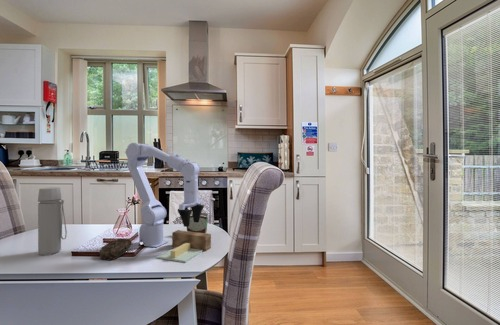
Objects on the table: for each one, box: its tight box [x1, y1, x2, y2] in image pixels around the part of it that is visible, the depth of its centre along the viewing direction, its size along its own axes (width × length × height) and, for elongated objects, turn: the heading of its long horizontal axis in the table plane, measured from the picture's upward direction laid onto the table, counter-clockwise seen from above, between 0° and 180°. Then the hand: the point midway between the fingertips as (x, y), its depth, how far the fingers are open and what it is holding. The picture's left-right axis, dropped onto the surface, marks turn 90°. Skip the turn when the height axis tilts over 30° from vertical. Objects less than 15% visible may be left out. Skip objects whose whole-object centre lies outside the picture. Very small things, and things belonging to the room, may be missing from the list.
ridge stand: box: [157, 243, 204, 263], centre depth 100 cm, size 12×12×3 cm
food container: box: [186, 212, 210, 234], centre depth 129 cm, size 12×6×10 cm, turn 74°
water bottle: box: [37, 186, 68, 256], centre depth 102 cm, size 9×8×25 cm
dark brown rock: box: [99, 238, 133, 261], centre depth 100 cm, size 12×10×5 cm
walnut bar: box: [171, 229, 212, 252], centre depth 109 cm, size 16×4×6 cm, turn 69°
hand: (191, 224), depth 109 cm, fingers open, 7 cm apart
